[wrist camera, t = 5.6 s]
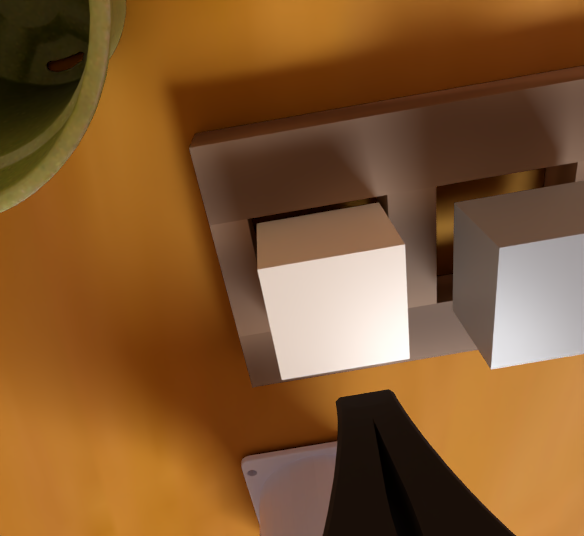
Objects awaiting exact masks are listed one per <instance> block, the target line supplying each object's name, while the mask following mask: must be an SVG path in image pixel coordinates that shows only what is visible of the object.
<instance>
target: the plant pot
mask: <svg viewBox="0 0 584 536" xmlns="http://www.w3.org/2000/svg"><path fill="white" fill-rule="evenodd" d="M125 16H126V0H0V213H1V212H3V211H6V210H8V209H10V208H12V207H14V206H16V205H17V204H19V203H20V202H22V201H24V200H25V199H27V198H28V197H29V196H31V195H32V194H34V193H35V192H36V191H37V190H39V189H40V188H41V187H42V186H43V185H44V184H45V183H47V182H48V181H49V180H50V179H51V178H52V177H53V176H54V175H55V174H56V173H57V172H58V171H59V169H60V168H61V167H62V166H63V165H64V163H65V162H66V161H67V160H68V158H69V157H70V156H71V154H72V153H73V151H74V150H75V149H76V147H77V146H78V144H79V143H80V141H81V139H82V137H83V136H84V134H85V132H86V130H87V128H88V126H89V124H90V122H91V120H92V118H93V116H94V114H95V111H96V108H97V105H98V103H99V100H100V97H101V93H102V90H103V86H104V83H105V79H106V75H107V69H108V63H109V59H110V57H111V56H112V55H113V53H114V51H115V49H116V47H117V45H118V42H119V40H120V37H121V34H122V30H123V26H124V21H125ZM78 52H83V53H84V55H83V59H82V61H81V62H79V63H78V64H76V65H75V66H74V67H72V68H70V69H68V70H64V71H60V72H55V71H51V70H49V69H48V68H47V66H46V64H47V63H48V62H49V61H55V60H59V59H64V58H67V57H70V56H71V55H73V54H75V55H76V54H77V53H78Z"/></svg>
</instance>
